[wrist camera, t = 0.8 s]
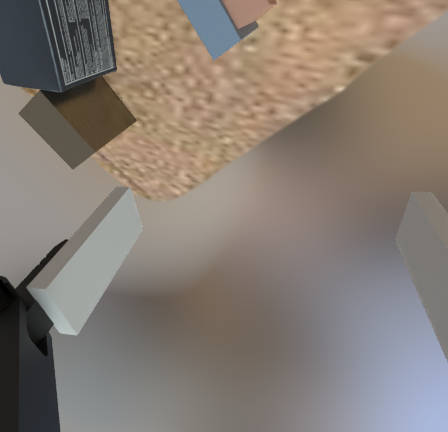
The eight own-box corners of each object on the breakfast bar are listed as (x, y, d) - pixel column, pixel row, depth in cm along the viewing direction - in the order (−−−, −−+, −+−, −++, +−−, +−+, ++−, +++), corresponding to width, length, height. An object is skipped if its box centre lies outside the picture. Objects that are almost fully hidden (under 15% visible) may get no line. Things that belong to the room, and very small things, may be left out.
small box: (41, -53, 29) (-60, -76, 20) (103, -48, 28) (24, -69, 20) (67, 65, 35) (-2, 85, 27) (118, 72, 34) (63, 94, 26)
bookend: (77, 89, 37) (18, 113, 29) (96, 70, 35) (39, 90, 27) (116, 136, 39) (72, 169, 31) (136, 120, 38) (95, 152, 30)
